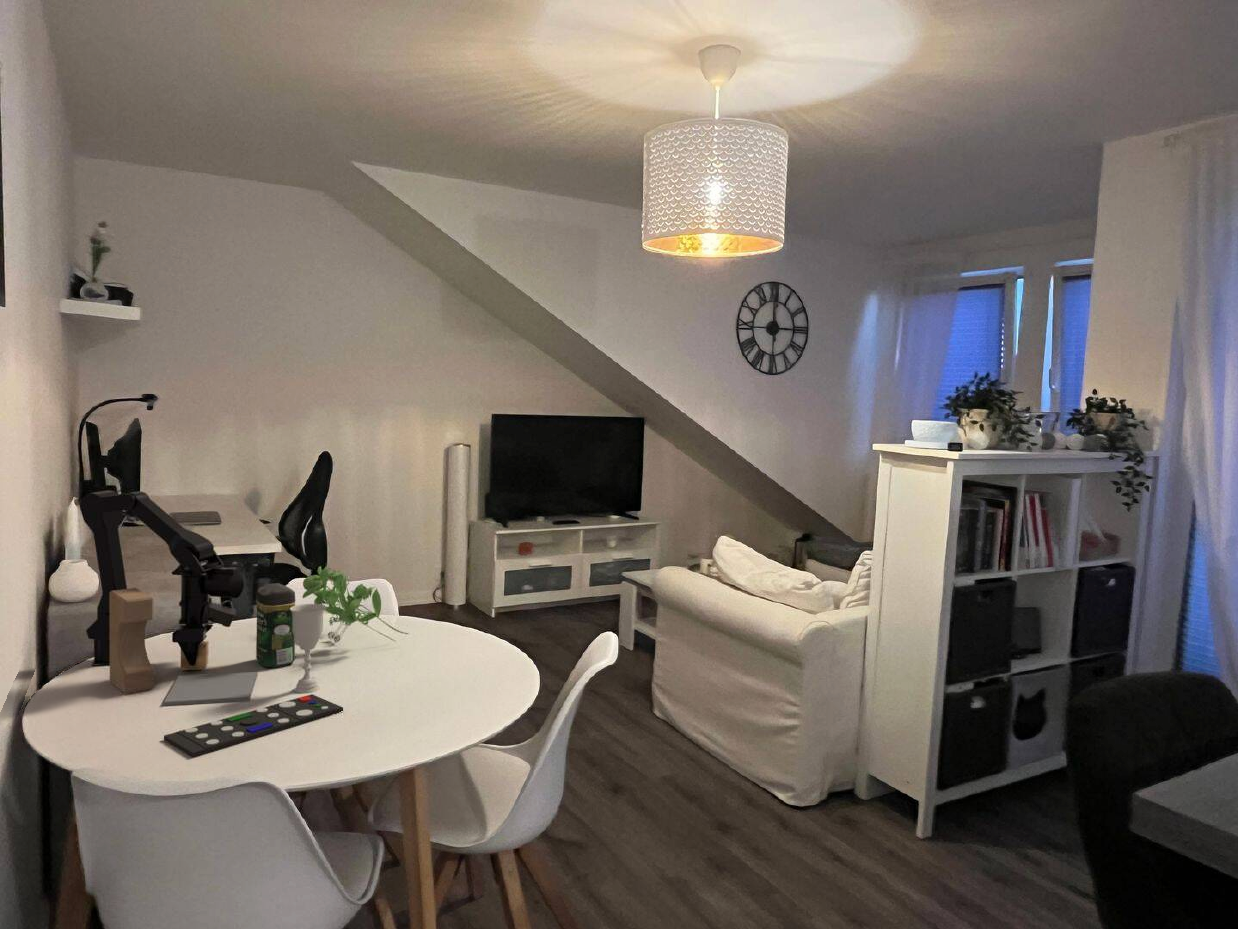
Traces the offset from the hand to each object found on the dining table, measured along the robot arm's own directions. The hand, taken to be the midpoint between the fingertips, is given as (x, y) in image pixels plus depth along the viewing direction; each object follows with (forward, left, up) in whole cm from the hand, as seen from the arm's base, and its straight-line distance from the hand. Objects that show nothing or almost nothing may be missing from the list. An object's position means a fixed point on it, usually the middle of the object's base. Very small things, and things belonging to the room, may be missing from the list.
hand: (194, 661), depth 194 cm
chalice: (+25, -18, -2) cm, 31 cm away
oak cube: (0, 0, -1) cm, 1 cm away
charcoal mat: (+6, -15, -2) cm, 16 cm away
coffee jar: (+17, +2, -2) cm, 17 cm away
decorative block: (-11, -9, -2) cm, 14 cm away
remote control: (+17, -37, -2) cm, 41 cm away
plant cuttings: (+35, +18, -2) cm, 39 cm away
